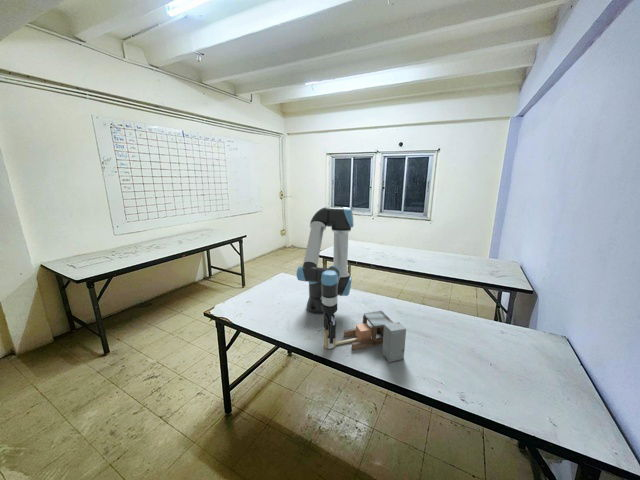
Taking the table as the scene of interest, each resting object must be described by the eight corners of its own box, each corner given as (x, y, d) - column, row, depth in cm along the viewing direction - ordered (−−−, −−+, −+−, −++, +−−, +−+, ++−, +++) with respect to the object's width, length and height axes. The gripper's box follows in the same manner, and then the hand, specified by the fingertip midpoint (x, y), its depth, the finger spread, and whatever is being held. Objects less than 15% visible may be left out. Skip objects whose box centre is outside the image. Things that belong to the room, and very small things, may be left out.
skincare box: (388, 362, 114) (390, 332, 110) (381, 352, 121) (382, 323, 117) (405, 359, 116) (407, 329, 112) (396, 349, 123) (398, 320, 119)
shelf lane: (343, 335, 134) (344, 316, 131) (380, 328, 140) (381, 310, 137) (352, 350, 123) (353, 330, 120) (392, 342, 128) (393, 322, 125)
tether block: (323, 342, 128) (323, 329, 126) (365, 334, 134) (366, 321, 132) (326, 350, 122) (326, 336, 120) (371, 341, 129) (371, 327, 127)
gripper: (317, 296, 127) (317, 336, 132) (327, 312, 111) (327, 357, 117) (331, 294, 129) (331, 334, 134) (343, 310, 113) (342, 354, 119)
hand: (329, 345), depth 126 cm, fingers closed on tether block, 3 cm apart
